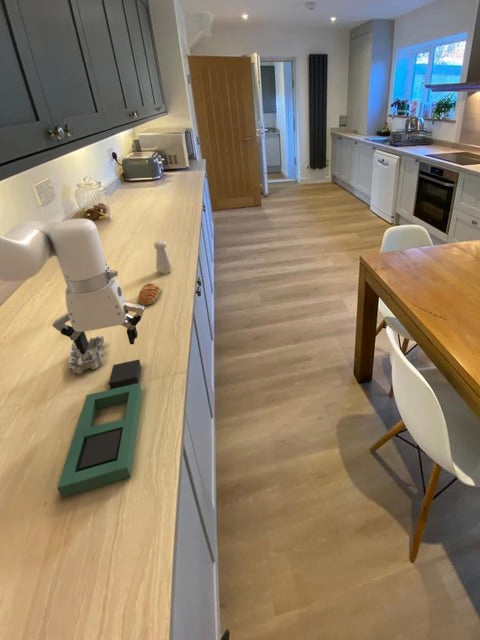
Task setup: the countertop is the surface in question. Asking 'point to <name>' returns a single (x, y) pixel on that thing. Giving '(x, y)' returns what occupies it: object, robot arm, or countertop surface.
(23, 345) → the countertop surface
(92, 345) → the egg carton
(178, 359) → the countertop surface
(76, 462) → the green double tile frame
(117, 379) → the pad
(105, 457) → the pad
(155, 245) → the salt shaker
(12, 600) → the countertop surface
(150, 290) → the pastry
